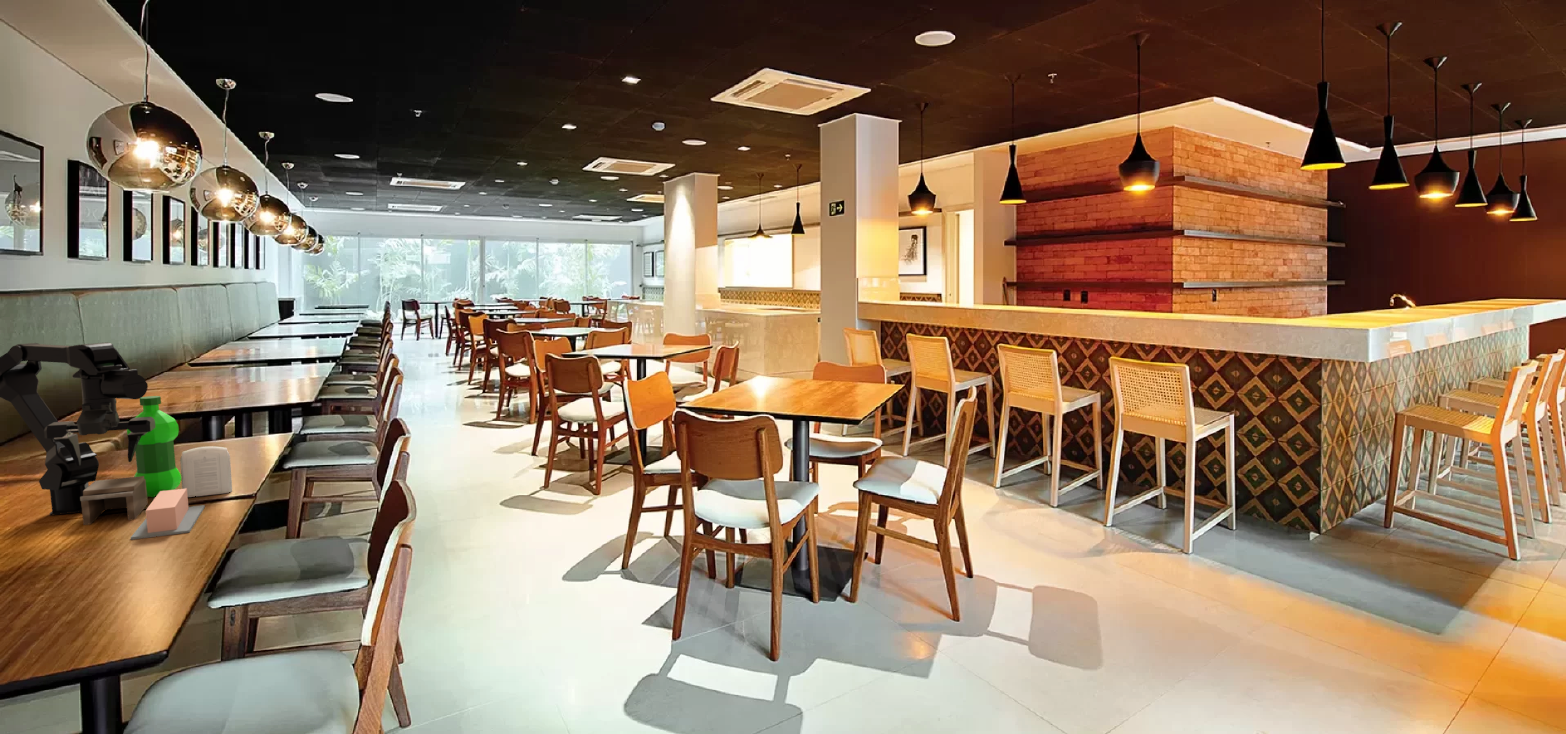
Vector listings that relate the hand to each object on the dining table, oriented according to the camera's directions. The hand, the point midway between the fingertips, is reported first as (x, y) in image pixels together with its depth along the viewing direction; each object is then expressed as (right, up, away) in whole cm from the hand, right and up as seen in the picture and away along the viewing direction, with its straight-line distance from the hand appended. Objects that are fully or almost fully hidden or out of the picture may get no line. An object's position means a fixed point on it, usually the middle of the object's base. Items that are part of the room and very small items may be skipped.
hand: (104, 463), depth 181 cm
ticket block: (+19, -12, -5) cm, 23 cm away
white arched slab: (+11, -10, +17) cm, 23 cm away
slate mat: (+19, -13, -5) cm, 23 cm away
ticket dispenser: (+3, -12, 0) cm, 12 cm away
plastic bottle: (-1, -10, +17) cm, 20 cm away
